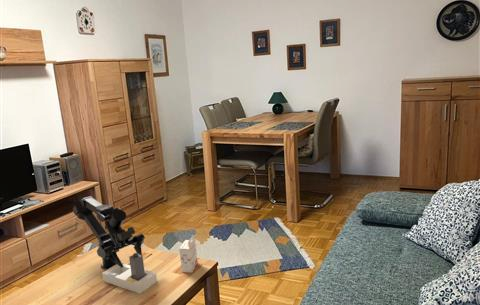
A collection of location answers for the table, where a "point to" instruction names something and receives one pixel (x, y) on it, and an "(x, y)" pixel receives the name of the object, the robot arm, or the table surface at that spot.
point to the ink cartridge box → (188, 255)
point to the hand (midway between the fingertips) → (132, 262)
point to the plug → (137, 266)
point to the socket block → (128, 278)
